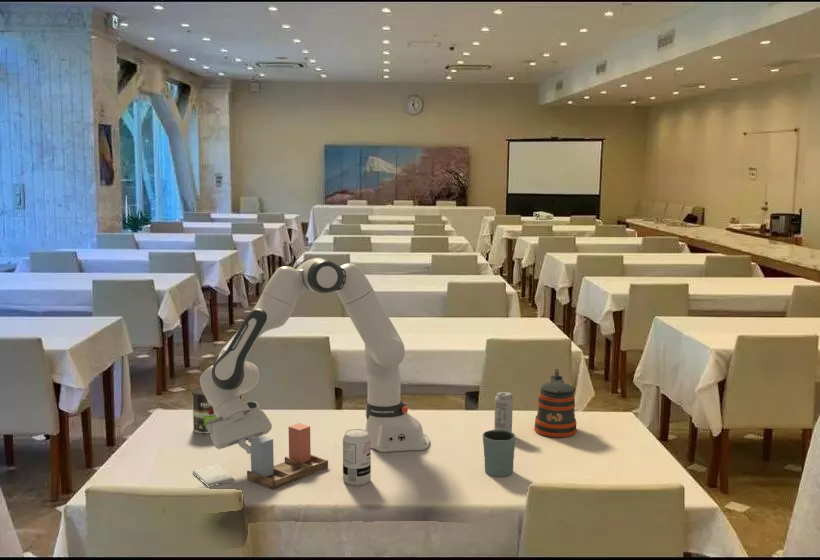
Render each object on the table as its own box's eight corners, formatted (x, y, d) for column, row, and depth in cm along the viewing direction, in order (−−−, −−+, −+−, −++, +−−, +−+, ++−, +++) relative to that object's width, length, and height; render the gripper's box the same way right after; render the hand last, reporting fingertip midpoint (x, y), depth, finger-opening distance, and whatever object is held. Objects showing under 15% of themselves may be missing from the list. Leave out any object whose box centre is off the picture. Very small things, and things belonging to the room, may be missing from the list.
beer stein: (531, 420, 310) (533, 367, 307) (571, 421, 309) (574, 367, 306) (536, 437, 291) (537, 381, 288) (579, 439, 290) (581, 382, 287)
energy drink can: (515, 436, 292) (516, 394, 290) (501, 439, 289) (503, 397, 287) (503, 431, 297) (505, 390, 295) (490, 434, 294) (491, 392, 292)
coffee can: (226, 431, 295) (225, 392, 293) (197, 435, 290) (195, 396, 288) (219, 422, 304) (217, 384, 302) (190, 426, 299) (188, 388, 297)
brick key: (289, 460, 265) (288, 426, 264) (299, 456, 269) (299, 423, 267) (299, 464, 262) (299, 430, 260) (310, 460, 266) (310, 426, 264)
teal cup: (505, 481, 254) (506, 442, 252) (475, 473, 259) (476, 436, 257) (520, 470, 262) (521, 433, 260) (490, 463, 268) (491, 427, 266)
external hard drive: (218, 469, 262) (234, 482, 252) (192, 474, 258) (207, 488, 248) (218, 464, 262) (234, 477, 252) (192, 469, 257) (207, 483, 247)
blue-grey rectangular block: (251, 474, 254) (250, 439, 252) (262, 469, 257) (262, 435, 256) (262, 478, 251) (261, 443, 249) (273, 474, 254) (273, 439, 252)
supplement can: (342, 476, 256) (342, 428, 254) (370, 475, 257) (370, 428, 255) (343, 486, 248) (342, 438, 246) (371, 486, 249) (371, 437, 247)
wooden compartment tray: (247, 479, 254) (246, 471, 253) (301, 458, 270) (301, 451, 270) (273, 489, 246) (273, 481, 246) (328, 468, 263) (328, 460, 262)
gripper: (208, 416, 251) (229, 456, 246) (261, 401, 266) (283, 437, 262) (199, 427, 254) (220, 466, 250) (252, 411, 270) (273, 448, 265)
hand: (253, 451), depth 256 cm, fingers closed
